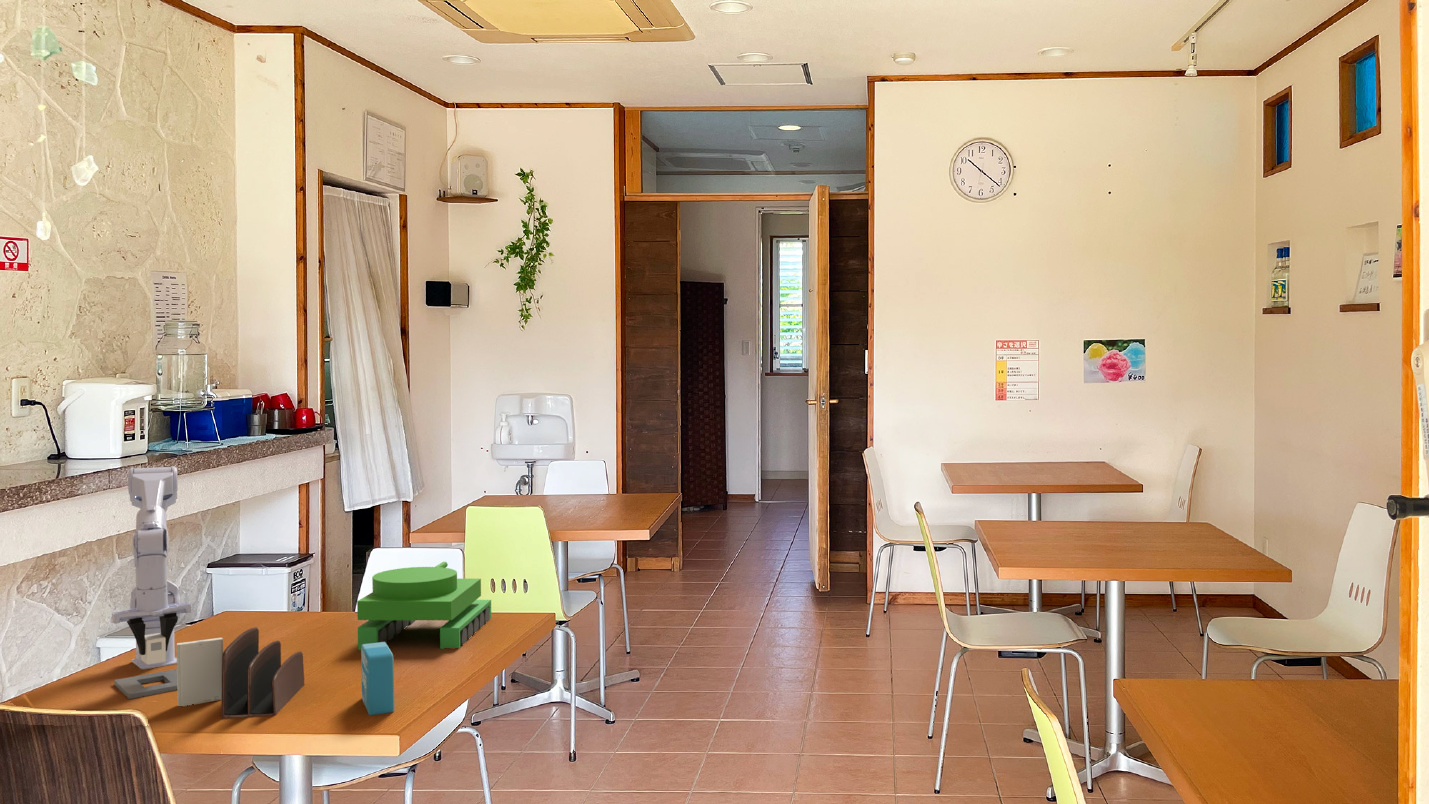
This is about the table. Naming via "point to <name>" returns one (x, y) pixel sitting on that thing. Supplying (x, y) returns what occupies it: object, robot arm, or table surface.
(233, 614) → the table surface
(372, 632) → the tank
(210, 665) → the external hard drive
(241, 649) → the letter holder
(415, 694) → the table surface
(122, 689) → the jack panel
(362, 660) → the data package
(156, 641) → the plug
